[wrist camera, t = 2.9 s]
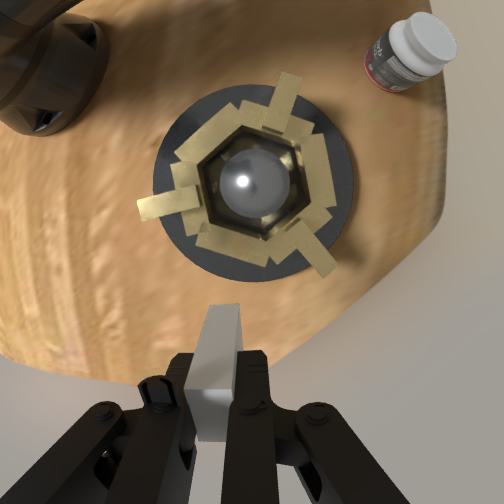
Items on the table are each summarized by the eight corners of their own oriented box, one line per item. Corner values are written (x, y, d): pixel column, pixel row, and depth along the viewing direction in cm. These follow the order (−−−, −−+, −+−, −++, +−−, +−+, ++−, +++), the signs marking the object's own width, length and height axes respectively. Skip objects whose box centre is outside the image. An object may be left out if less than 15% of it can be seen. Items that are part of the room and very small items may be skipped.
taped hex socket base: (142, 195, 24) (122, 199, 20) (275, 76, 22) (280, 56, 17) (252, 310, 27) (252, 334, 22) (380, 200, 24) (404, 205, 20)
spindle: (219, 192, 26) (207, 197, 19) (243, 149, 25) (240, 136, 18) (263, 216, 26) (268, 230, 19) (287, 172, 26) (302, 170, 18)
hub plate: (129, 224, 27) (123, 227, 25) (214, 61, 23) (212, 54, 21) (289, 306, 29) (291, 313, 27) (377, 150, 25) (385, 149, 23)
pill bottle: (372, 37, 22) (414, -5, 12) (414, 67, 22) (467, 38, 13) (353, 72, 23) (397, 32, 13) (399, 103, 24) (456, 80, 14)
